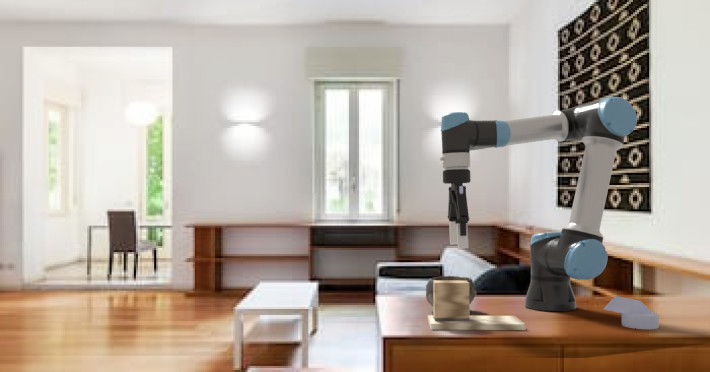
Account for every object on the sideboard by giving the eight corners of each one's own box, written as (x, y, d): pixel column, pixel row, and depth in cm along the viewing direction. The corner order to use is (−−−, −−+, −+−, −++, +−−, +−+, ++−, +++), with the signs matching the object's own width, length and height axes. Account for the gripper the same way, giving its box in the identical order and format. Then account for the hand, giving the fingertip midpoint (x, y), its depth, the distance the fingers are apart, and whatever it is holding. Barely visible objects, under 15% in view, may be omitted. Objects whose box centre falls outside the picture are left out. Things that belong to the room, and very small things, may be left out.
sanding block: (466, 317, 169) (466, 280, 169) (469, 321, 164) (469, 282, 164) (433, 317, 169) (433, 280, 170) (435, 321, 164) (434, 282, 165)
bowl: (484, 311, 188) (484, 277, 188) (453, 317, 177) (453, 282, 178) (446, 305, 198) (446, 273, 198) (415, 311, 187) (415, 278, 187)
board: (515, 321, 172) (515, 315, 172) (525, 330, 160) (525, 324, 160) (427, 320, 173) (427, 315, 173) (431, 329, 161) (431, 323, 161)
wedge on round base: (603, 321, 172) (640, 330, 160) (602, 296, 173) (640, 304, 161) (628, 319, 176) (666, 327, 164) (627, 295, 176) (666, 302, 164)
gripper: (436, 171, 185) (439, 243, 185) (449, 167, 160) (452, 250, 160) (462, 170, 185) (464, 242, 185) (478, 166, 160) (481, 249, 160)
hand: (458, 246), depth 172 cm, fingers open, 13 cm apart
